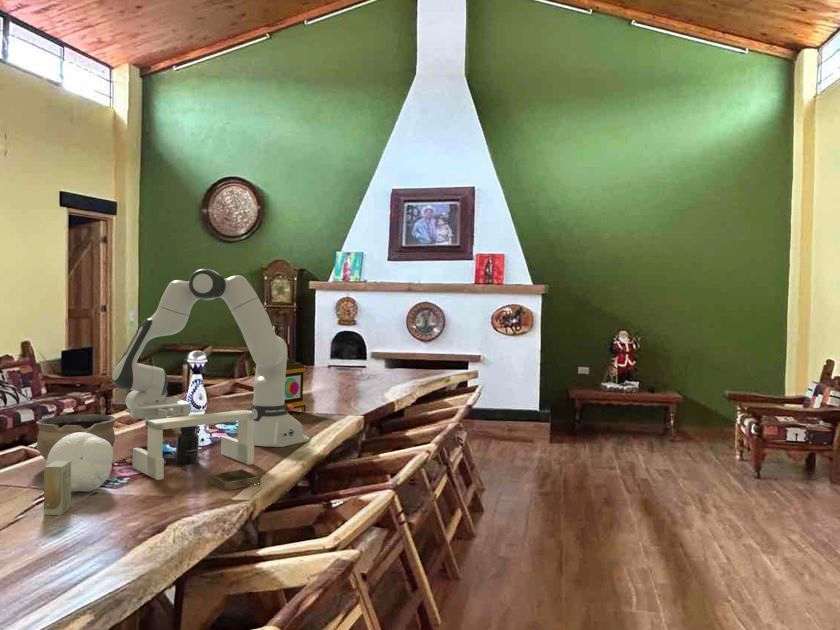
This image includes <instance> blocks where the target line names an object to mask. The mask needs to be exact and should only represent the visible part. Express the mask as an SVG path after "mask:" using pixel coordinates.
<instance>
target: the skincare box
mask: <svg viewBox="0 0 840 630" xmlns="http://www.w3.org/2000/svg"><path fill="white" fill-rule="evenodd" d="M43 468H44V469H43V472H44V473H43V515H44V516H62V515H63V514H65V513H66V512H67V511H68V510H70V508H72V491H71V461H53V462H51V463H50V464H48V465H47V464H46V465H45V466H44V467H43Z"/></svg>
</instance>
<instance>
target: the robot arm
mask: <svg viewBox="0 0 840 630" xmlns="http://www.w3.org/2000/svg"><path fill="white" fill-rule="evenodd" d="M219 298H220V299H222V300H223V301H224V302H225V303H226V305H227V307H228V309H229V311H230V312H231V315H232V317H233V318H234V320H235V322H236V323H237V326H238V327H239V331H241V333H242V336H243V339H244V341H245V344H246V346H247V349H248V351H249V353H250V356H251V357H252V360H253V362H254V363H255V365H256V373H255V372H254V373H255V374H254V381H253V402H254V404H253V403H252V404H251V406H252V411H251V412H253V445H254V446H258V447H275V448H283V447H287V446H293V445H296V444H302V443H305V442H310V437H309V436H307V435H305V434H304V429H303V425H302V423H301V422H300V421H299V420H297V419H296V418H295V417H293V416H292V415H290V414H289V411H293V410H294V409H295V408H294V406H293V405H288V406H287V405H286V404H284V393H285V375H286V364H287V353H288V345H287V343H286V341H285V339H283V337H281V336H279V335H277V334H276V331H275V329H274V328H273V325H272V322H271V319H270V315H269V314H268V312H267V311H266V309H265V307H264V305H263V303H262V302H261V300H260V298H259V296H258V294H257V292H256V291H255V289H254V288H253V286H252V285H251V284H250V282H249V281H248V280H247V278H246V277H244V276H243V275H238V274H237V275H232V276H229V277H227V278H224V277H223V276H222V275H221V274H220V273H218V272H217V271H215V270H213V269H209V268H200V269H197V270H196V271H194V272H193V273H191V275H190V277H189V280H188V281H185V280H182V279H181V280H180V279H175V280H172V281H170V282H169V283H168V284H167V286H166V288H165V290H164V292H163V294H162V296H161V298H160V301H159V303H158V306H157V309H156V310H155V312H154V313H153V314H151V316H150V317H149V318H145V319H144V320H143V321H142V322H141V323H140V325H139V326H138V329H136V332H135V334H134V335H133V337H132V338H131V341H130V342H129V343H128V346H127V348H126V350H125V351H124V353H123V355H122V356H121V358H120V360H119V361H118V362H117V364H115V367H114V369H112V374H111V380H112V382H113V384H114V386H115V387H117V388H118V390H126V391H130V392H128V394H127V395H126V396H125V397H126V398H125V405H126V407H127V408H125V409H124V412H125V413H129V414H128V415H129V417H130V418H132V419H136V420H137V419H145V420H146V419H148V420H155V419H160V418H164V417H167V418H169V417H174V416H182V415H183V416H186V415H190V414H191V413H192V404H191V402H189V401H187V400H183V399H179V397H178V396H173V395H172V396H171V395H167V396H163V395H164V394H165V392H166V389H167V388H168V385H169V377H168V375H167V373H166V371H165V369H164V368H162V367H158V366H153V365H148V364H142V363H139V362H138V359H140V356H141V354H142V353H143V350H145V346H146V344H148V342H150V341H151V340H152V339H155V338H158V337H165V336H166V337H167V336H173V335H175V334H177V333H180V332H181V331H182V330H184V329H185V327H186V325H187V323H188V320H189V319H190V318H189V317H190V314H191V312H192V308H193V306H194V304H195V303H196V302H197V301H214V300H217V299H219ZM293 408H294V409H293Z"/></svg>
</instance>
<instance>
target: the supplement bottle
mask: <svg viewBox="0 0 840 630" xmlns="http://www.w3.org/2000/svg"><path fill="white" fill-rule="evenodd" d="M179 432H180V433H177V436H176V442H175V443H176V444H175V446H176V447H175V448H176V449H175V455H176V456H175V463H176V464H178V465H182V466H183V465H184V466H185V465H186V466H187V465H194V464H197V463H198V461H199V443H200V439H199V437H200V436H199V435H198V434H197V433H196V432H197V425H196V426H188V427H180V428H179Z"/></svg>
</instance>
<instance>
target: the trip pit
mask: <svg viewBox="0 0 840 630" xmlns="http://www.w3.org/2000/svg"><path fill="white" fill-rule="evenodd" d="M207 480H208V481H207V482H208V483H209V484H211V485H214V486H215V487H217V488H219V489H221V490H223V491H232V489H233V490H238V489H237V488H239V489H242V488H241V487H244V488H247V487H246V486H249V487H251V486H250V485H254V484H258V483H262V476H260V475H257V474H255V473H253V472H250V471H248V470H245V469H244V468H242V469H241V468H240V469H234V470H229V471H224V472H218V473H217V472H216V473H211V474H208V475H207ZM254 486H255V485H254Z"/></svg>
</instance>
